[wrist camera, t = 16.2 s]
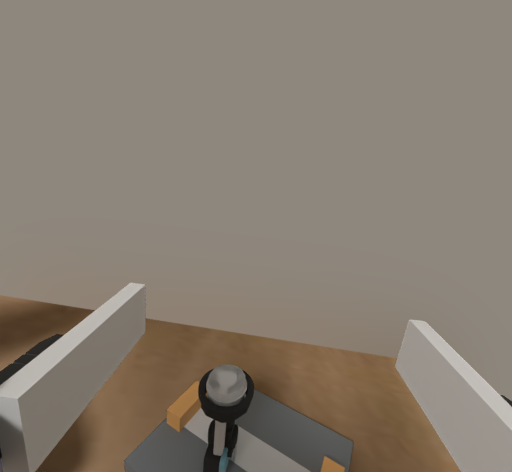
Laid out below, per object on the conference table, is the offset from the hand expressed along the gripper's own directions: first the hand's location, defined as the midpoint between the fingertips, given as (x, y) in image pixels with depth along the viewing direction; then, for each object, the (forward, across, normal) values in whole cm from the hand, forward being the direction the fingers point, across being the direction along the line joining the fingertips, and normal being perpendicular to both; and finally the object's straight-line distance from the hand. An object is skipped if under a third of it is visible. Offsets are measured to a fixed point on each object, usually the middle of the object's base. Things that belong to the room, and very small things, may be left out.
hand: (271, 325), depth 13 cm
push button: (+9, -2, -22) cm, 24 cm away
